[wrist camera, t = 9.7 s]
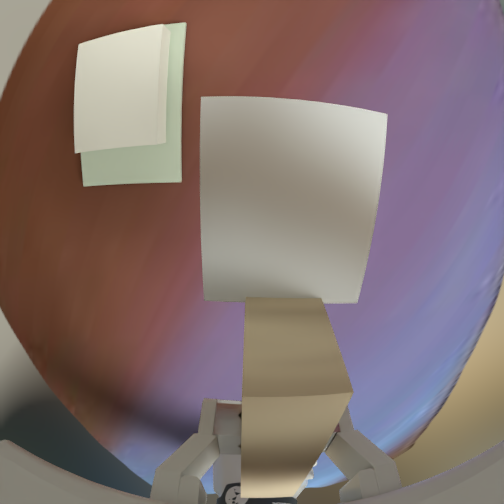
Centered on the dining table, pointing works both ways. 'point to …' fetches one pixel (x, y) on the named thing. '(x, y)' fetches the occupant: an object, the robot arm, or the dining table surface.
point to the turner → (287, 263)
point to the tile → (122, 90)
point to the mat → (147, 156)
